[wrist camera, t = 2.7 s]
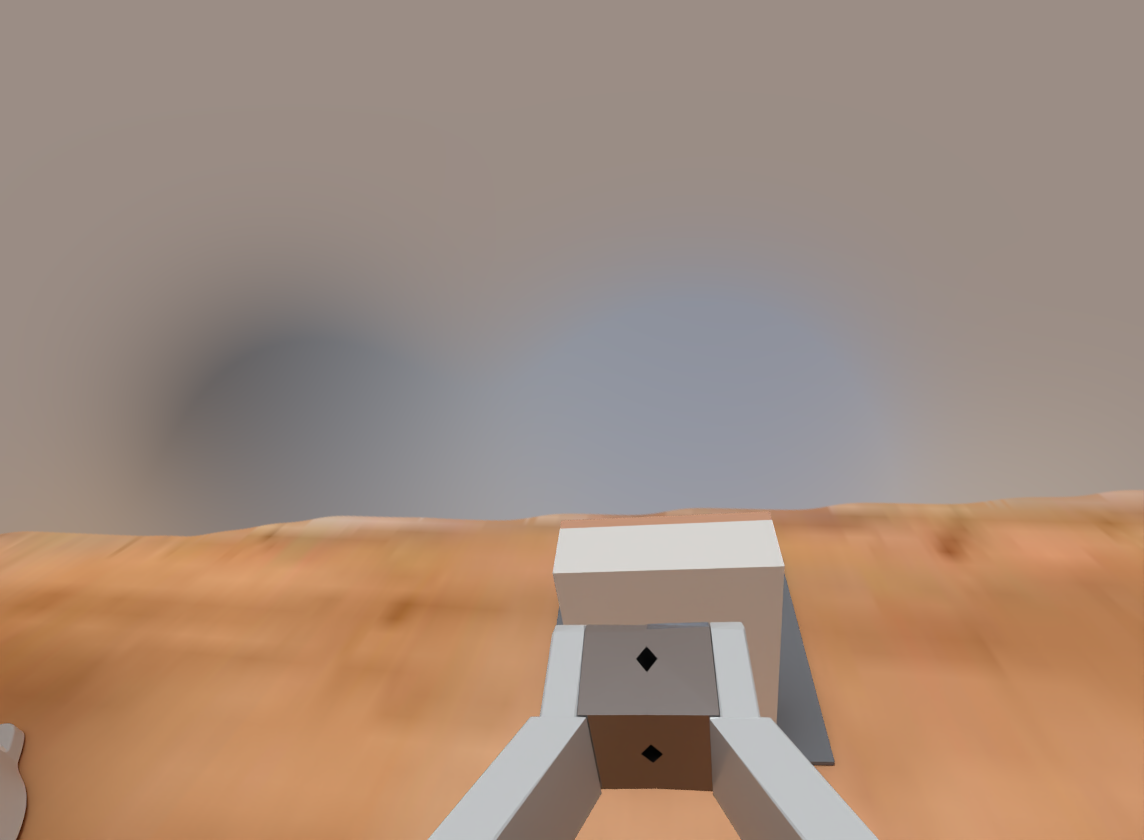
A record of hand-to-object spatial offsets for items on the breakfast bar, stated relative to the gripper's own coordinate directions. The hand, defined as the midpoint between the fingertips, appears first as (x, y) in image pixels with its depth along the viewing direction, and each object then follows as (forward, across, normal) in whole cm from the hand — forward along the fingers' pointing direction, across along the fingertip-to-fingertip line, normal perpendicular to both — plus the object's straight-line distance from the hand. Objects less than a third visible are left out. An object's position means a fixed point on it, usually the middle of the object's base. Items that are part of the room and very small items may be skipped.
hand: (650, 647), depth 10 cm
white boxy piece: (+15, 0, +25) cm, 30 cm away
